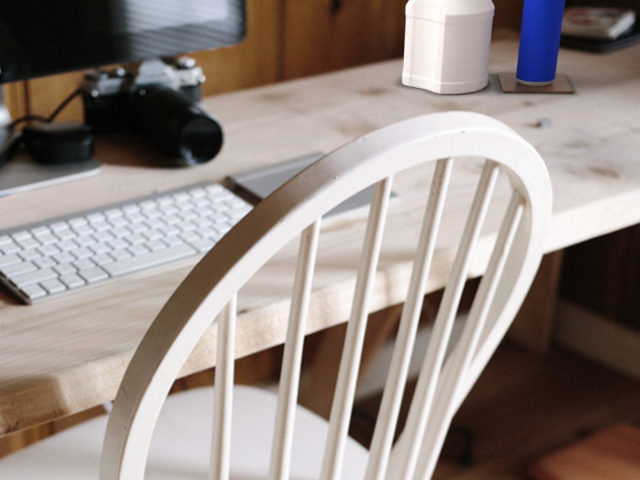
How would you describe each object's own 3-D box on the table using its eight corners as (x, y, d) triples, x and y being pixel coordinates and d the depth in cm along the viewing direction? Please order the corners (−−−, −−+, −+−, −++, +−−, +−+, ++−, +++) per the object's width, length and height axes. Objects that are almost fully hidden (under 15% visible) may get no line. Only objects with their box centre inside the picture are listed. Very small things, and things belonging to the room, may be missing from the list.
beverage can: (549, 76, 141) (564, -40, 133) (558, 86, 136) (574, -34, 129) (511, 77, 141) (524, -40, 133) (519, 87, 137) (532, -33, 129)
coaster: (563, 75, 142) (563, 73, 142) (572, 93, 135) (573, 91, 135) (497, 75, 143) (497, 73, 143) (503, 92, 136) (503, 90, 135)
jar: (389, 82, 141) (394, -34, 134) (434, 69, 147) (442, -43, 139) (454, 98, 134) (464, -24, 126) (500, 84, 139) (512, -34, 131)
